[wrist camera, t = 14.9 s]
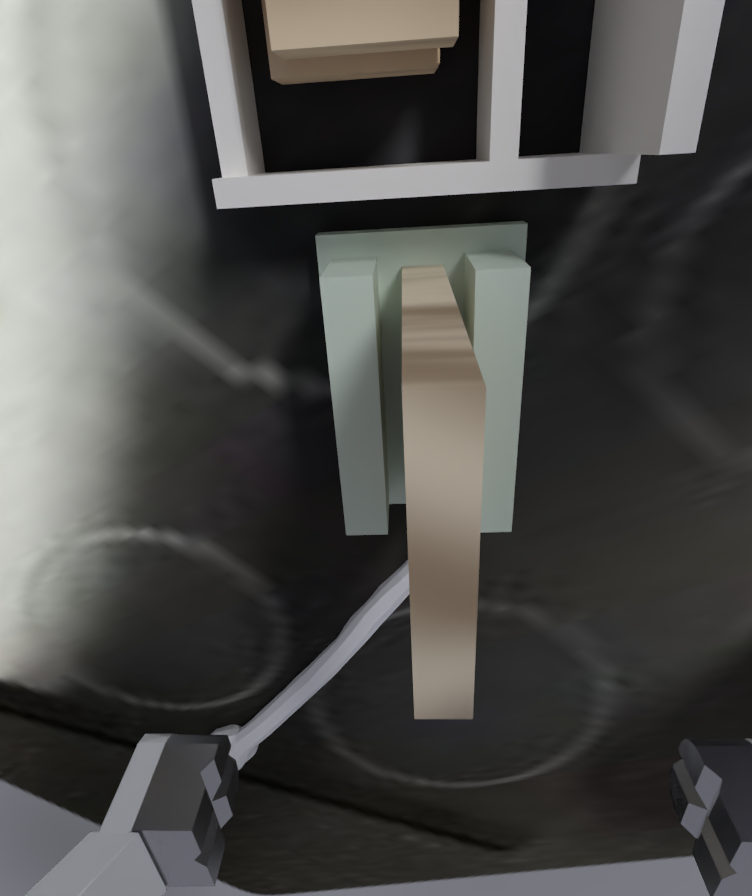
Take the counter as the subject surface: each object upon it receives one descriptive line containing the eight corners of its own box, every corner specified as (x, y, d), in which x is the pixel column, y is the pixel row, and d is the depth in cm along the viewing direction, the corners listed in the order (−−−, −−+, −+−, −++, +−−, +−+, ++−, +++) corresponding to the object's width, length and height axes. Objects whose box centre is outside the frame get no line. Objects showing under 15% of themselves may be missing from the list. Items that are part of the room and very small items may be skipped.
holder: (318, 232, 24) (300, 251, 20) (523, 221, 24) (550, 237, 20) (344, 495, 31) (335, 552, 27) (505, 490, 31) (523, 548, 26)
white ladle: (417, 492, 31) (418, 521, 29) (472, 526, 32) (478, 558, 30) (200, 733, 43) (188, 769, 41) (247, 753, 44) (237, 789, 42)
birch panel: (401, 266, 24) (402, 390, 12) (443, 264, 24) (486, 387, 12) (409, 479, 29) (414, 719, 17) (443, 478, 29) (472, 719, 17)
